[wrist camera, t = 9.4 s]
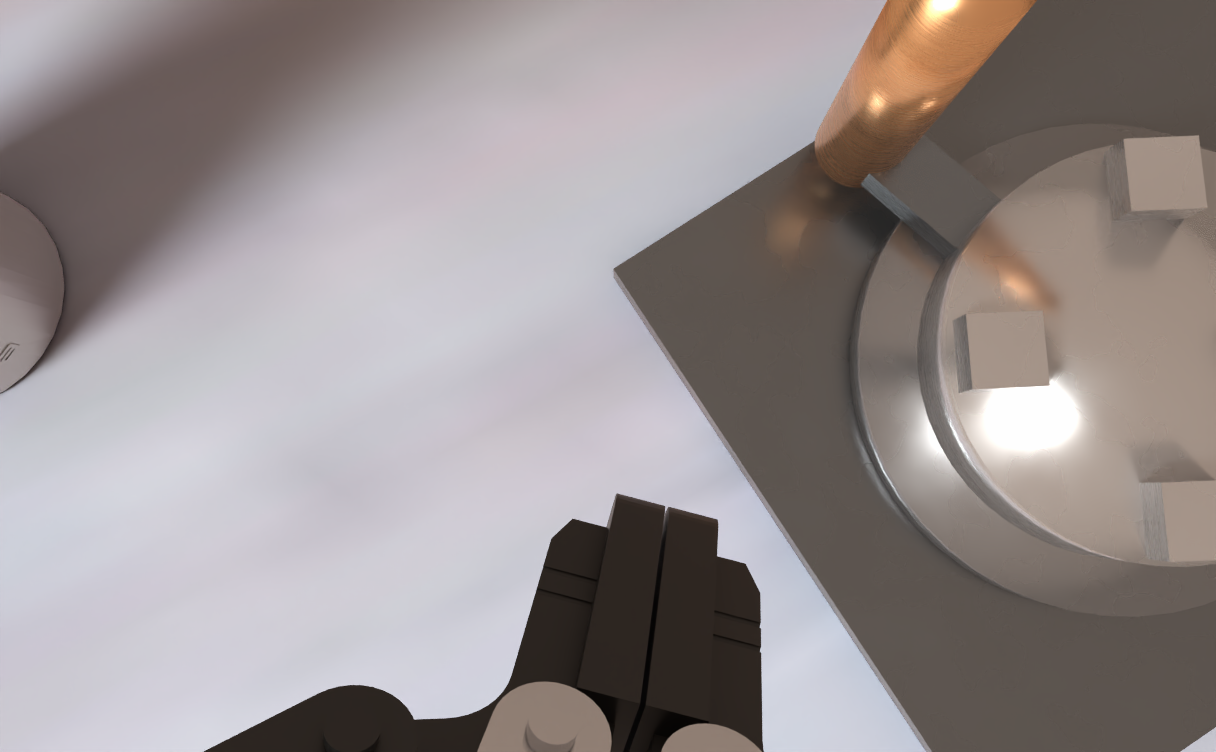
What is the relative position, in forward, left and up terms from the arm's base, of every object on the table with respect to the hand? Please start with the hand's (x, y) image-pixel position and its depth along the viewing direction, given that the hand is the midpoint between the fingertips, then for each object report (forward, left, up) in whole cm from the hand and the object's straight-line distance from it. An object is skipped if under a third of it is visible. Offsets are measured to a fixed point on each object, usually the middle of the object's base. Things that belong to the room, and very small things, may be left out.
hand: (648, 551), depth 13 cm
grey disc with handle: (+1, +17, -20) cm, 26 cm away
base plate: (+5, +17, -23) cm, 29 cm away
